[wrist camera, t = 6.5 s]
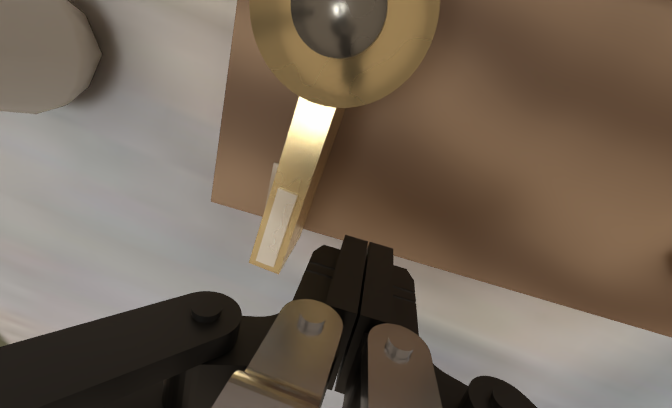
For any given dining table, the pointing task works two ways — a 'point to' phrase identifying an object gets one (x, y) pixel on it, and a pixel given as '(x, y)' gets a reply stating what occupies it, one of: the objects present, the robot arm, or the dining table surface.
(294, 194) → the dial
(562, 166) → the levelling plate
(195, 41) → the dining table surface
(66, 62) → the salt shaker
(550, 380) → the dining table surface
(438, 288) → the dining table surface
